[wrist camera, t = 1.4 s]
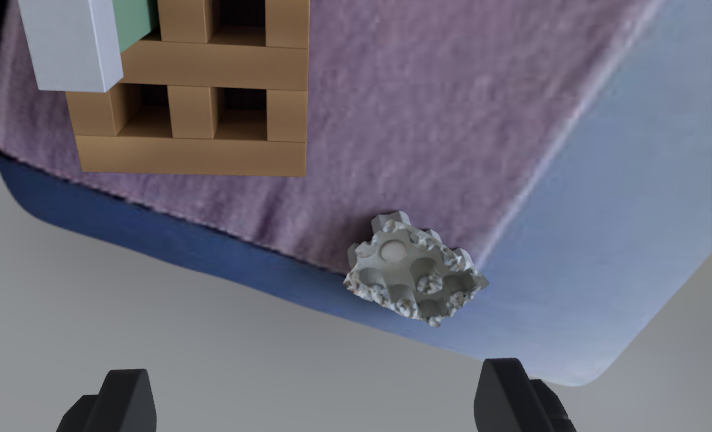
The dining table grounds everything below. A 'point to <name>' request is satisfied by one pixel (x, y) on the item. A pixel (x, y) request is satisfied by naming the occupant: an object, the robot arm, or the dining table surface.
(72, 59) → the green bar with cap
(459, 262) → the egg carton
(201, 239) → the dining table surface
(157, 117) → the holder
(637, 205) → the dining table surface
